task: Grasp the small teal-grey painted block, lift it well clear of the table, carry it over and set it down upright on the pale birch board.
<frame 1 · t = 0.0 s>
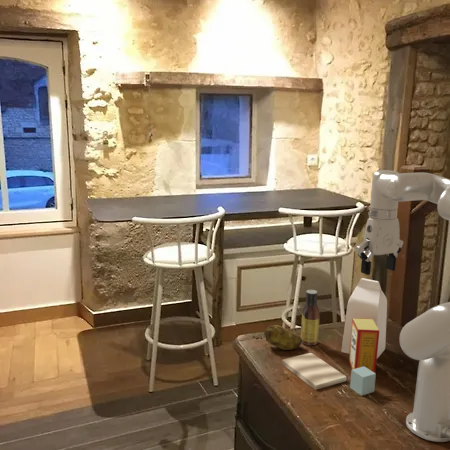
hand: (377, 271, 150), 37 cm above the wooden chest, tool pointing down, fingers open, 9 cm apart
baking soda box: (361, 369, 169), on the wooden chest
birch board: (312, 372, 166), on the wooden chest
potato: (282, 348, 183), on the wooden chest
teal block: (361, 389, 156), on the wooden chest
milk: (363, 350, 182), on the wooden chest
sauce bottle: (308, 343, 187), on the wooden chest
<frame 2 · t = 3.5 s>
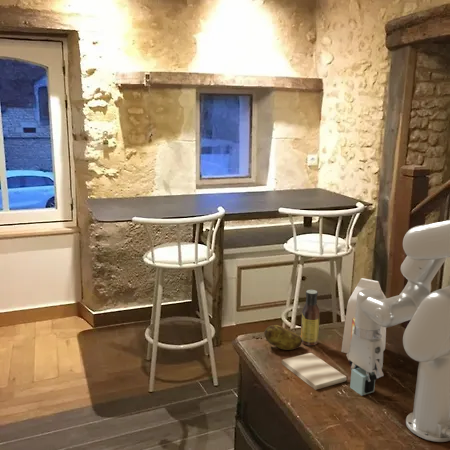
hand: (362, 386, 156), 1 cm above the wooden chest, tool pointing down, fingers closed on teal block, 5 cm apart
teal block: (362, 389, 156), on the wooden chest, touching gripper
everything else where it was.
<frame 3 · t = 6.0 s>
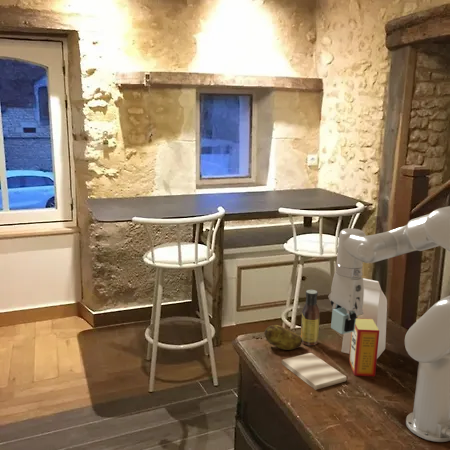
hand: (342, 326, 157), 18 cm above the wooden chest, tool pointing down, fingers closed on teal block, 4 cm apart
teal block: (342, 329, 157), point 17 cm above the wooden chest, touching gripper
everything else where it was.
when the fingers open (4 cm above the wooden chest, at t = 8.6 s): teal block drops 1 cm, resting on birch board.
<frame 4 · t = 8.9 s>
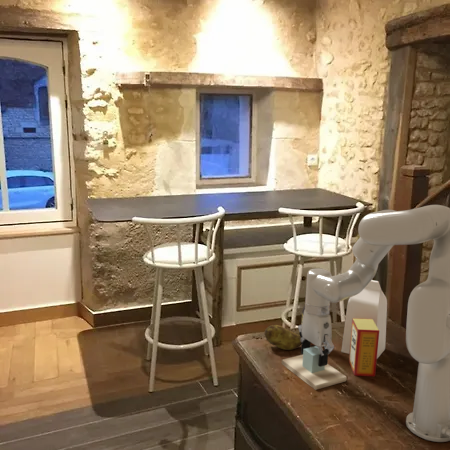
hand: (313, 359, 165), 5 cm above the wooden chest, tool pointing down, fingers open, 8 cm apart
teal block: (313, 368, 165), point 1 cm above the wooden chest, touching birch board
everything else where it was.
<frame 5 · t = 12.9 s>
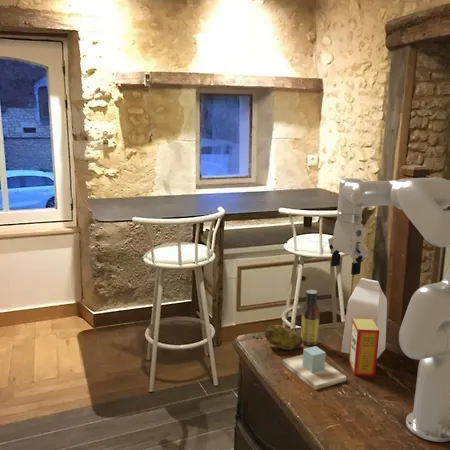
hand: (345, 269, 166), 32 cm above the wooden chest, tool pointing down, fingers open, 9 cm apart
nothing on the wooden chest moved.
at the end: teal block inside the target area on the birch board (0.0 cm from its centre), point 1.5 cm above the birch board's base; teal block tilted 0°; the gripper is holding nothing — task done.
